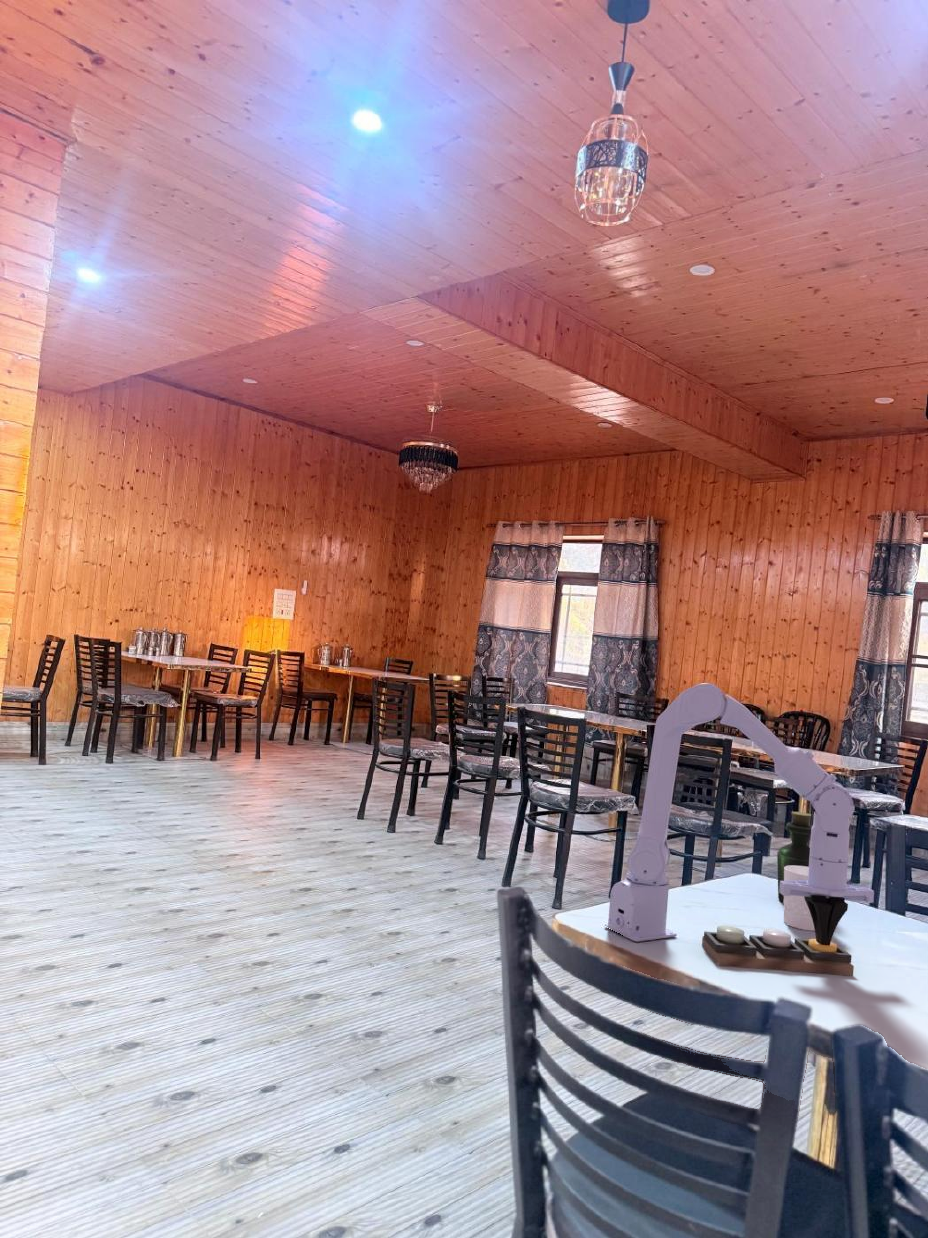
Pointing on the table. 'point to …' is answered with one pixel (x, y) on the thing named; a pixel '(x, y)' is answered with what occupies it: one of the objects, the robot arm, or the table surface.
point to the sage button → (730, 934)
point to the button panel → (777, 955)
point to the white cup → (797, 900)
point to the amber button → (822, 946)
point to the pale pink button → (776, 938)
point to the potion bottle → (795, 846)
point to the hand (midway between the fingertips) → (822, 943)
